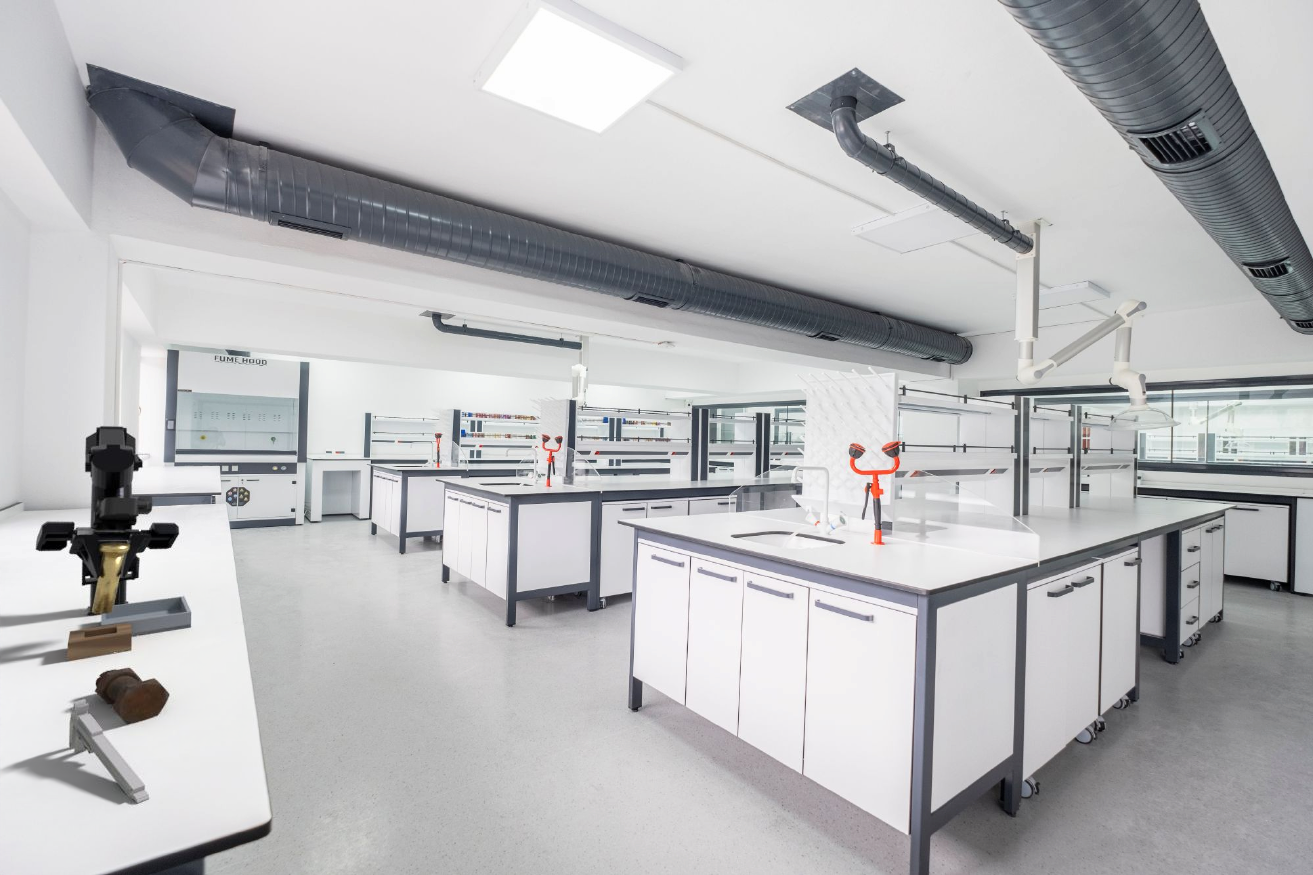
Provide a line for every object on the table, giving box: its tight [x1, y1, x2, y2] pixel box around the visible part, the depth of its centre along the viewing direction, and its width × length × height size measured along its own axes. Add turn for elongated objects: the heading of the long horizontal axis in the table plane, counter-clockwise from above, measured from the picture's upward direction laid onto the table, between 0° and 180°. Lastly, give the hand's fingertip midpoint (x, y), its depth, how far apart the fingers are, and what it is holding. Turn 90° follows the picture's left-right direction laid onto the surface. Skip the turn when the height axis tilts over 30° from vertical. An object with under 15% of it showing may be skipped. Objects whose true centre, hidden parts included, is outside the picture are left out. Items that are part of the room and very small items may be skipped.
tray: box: [100, 595, 192, 637], centre depth 118 cm, size 15×13×3 cm
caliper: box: [68, 698, 150, 804], centre depth 67 cm, size 20×1×6 cm, turn 60°
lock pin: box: [92, 542, 130, 615], centre depth 106 cm, size 4×4×12 cm
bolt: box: [94, 667, 170, 725], centre depth 83 cm, size 6×5×15 cm
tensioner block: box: [66, 622, 133, 662], centre depth 104 cm, size 8×8×3 cm
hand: (111, 576), depth 105 cm, fingers closed on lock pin, 3 cm apart
